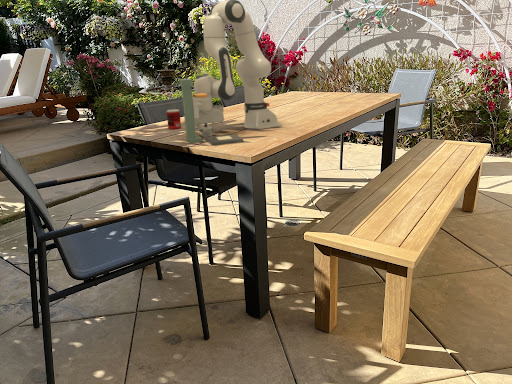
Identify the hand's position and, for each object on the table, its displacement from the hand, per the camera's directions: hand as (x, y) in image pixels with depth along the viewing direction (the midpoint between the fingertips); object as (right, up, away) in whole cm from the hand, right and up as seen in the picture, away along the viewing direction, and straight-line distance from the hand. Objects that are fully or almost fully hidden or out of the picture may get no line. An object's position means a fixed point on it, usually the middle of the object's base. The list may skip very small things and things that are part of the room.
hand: (206, 131), depth 223 cm
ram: (-1, +5, -14) cm, 15 cm away
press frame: (-5, -7, -12) cm, 14 cm away
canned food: (-22, +5, +25) cm, 34 cm away
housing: (0, -2, +1) cm, 2 cm away
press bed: (+11, -7, -15) cm, 20 cm away
